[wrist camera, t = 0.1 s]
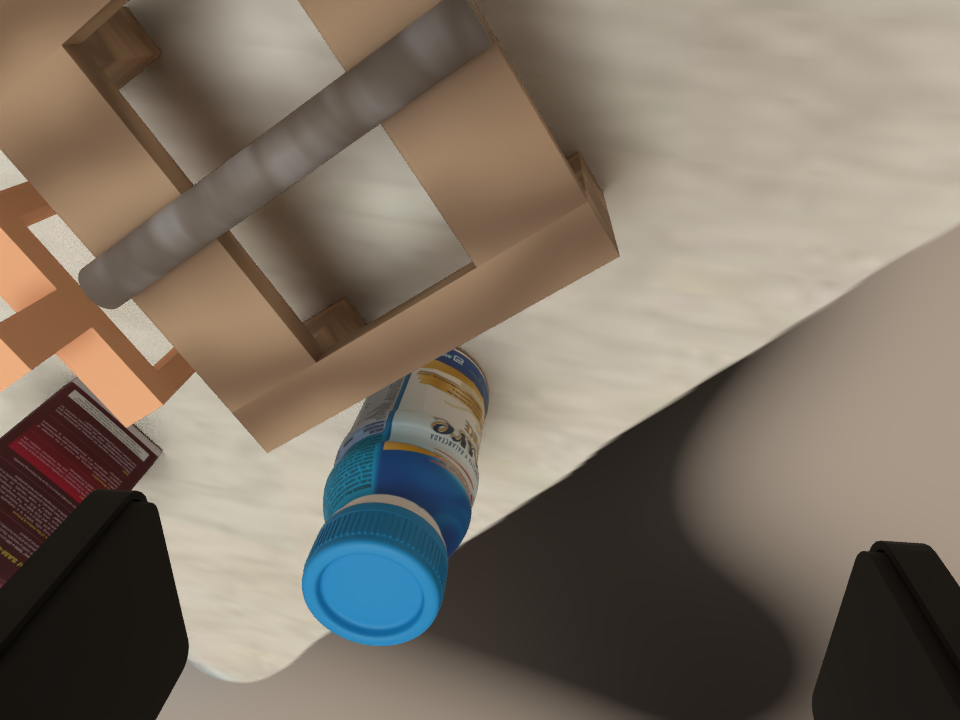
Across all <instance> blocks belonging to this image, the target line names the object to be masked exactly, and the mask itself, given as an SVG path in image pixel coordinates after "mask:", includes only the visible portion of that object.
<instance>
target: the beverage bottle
mask: <svg viewBox="0 0 960 720" xmlns="http://www.w3.org/2000/svg"><path fill="white" fill-rule="evenodd" d="M488 402H489V394H488V387H487V384H486V381H485V378H484V376H483V374H482V372H481V371H480V369H479V368H478V366H477V365H476V364H475V363H474V362H473V361H472V360H471V359H470V358H469V357H468V356H466V355H465V354H464V353H462V352H460V351H459V350H457V349H455V348H454V349H453V350H451V351H449V352H447V353H445V354H444V355H442V356H440V357H438V358H436V359H435V360H433V361H431V362H429V363H428V364H426V365H424V366H422V367H420V368H419V369H417V370H415V371H413V372H411V373H410V374H408V375H406V376H404V377H402V378H401V379H399V380H397V381H395V382H393V383H392V384H390V385H388V386H386V387H385V388H383V389H381V390H379V391H377V392H376V393H374V394H372V395H370V396H368V397H367V398H366V400H365V402H364V404H363V406H362V408H361V410H360V412H359V414H358V416H357V419H356V421H355V423H354V425H353V427H352V429H351V431H350V432H349V433H348V435H347V436H346V437H345V439H344V440H343V442H342V444H341V446H340V448H339V450H338V453H337V456H336V459H335V464H334V468H333V469H332V471H331V473H330V475H329V477H328V479H327V482H326V485H325V489H324V496H323V512H324V520H325V524H324V525H323V527H322V528H321V530H320V532H319V534H318V536H317V538H316V540H315V542H314V545H313V547H312V549H311V551H310V554H309V556H308V558H307V560H306V564H305V566H304V570H303V571H304V573H303V577H302V591H303V596H304V599H305V602H306V604H307V606H308V608H309V610H310V611H311V613H312V614H313V615H314V617H315V618H316V619H317V620H318V621H319V622H320V623H321V624H322V625H323V626H325V627H326V628H327V629H329V630H330V631H332V632H333V633H335V634H337V635H339V636H341V637H343V638H345V639H348V640H350V641H353V642H356V643H360V644H365V645H374V646H388V645H395V644H400V643H403V642H406V641H409V640H412V639H413V638H416V637H417V636H419V635H420V634H422V633H423V632H424V631H425V630H426V629H428V628H429V626H430V625H431V624H432V623H433V621H434V619H435V618H436V615H437V613H438V610H439V609H440V606H441V604H442V599H443V594H444V588H445V583H446V578H447V577H446V576H447V570H448V558H449V557H450V556H451V555H452V554H453V553H454V551H455V550H456V549H457V548H458V546H459V545H460V543H461V542H462V540H463V538H464V536H465V535H466V532H467V530H468V527H469V524H470V520H471V511H472V510H471V508H472V506H473V503H474V501H475V498H476V494H477V489H478V482H479V472H478V466H477V461H478V455H479V448H480V441H481V435H482V429H483V424H484V420H485V417H486V414H487V409H488Z"/></svg>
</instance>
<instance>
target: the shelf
mask: <svg viewBox="0 0 960 720" xmlns="http://www.w3.org/2000/svg"><path fill="white" fill-rule="evenodd" d="M128 1H129V0H0V149H1V150H2V152H3V153H4V154H5V155H6V156H7V157H8V158H9V160H10V161H11V162H12V163H13V164H14V165H15V166H16V168H17V169H18V170H19V171H20V172H21V173H22V174H23V176H24V177H25V178H26V179H27V180H28V181H29V182H30V183H31V185H32V186H33V187H34V188H35V189H36V190H37V191H38V193H39V194H40V195H41V196H42V197H43V198H44V199H45V201H46V202H47V203H48V204H49V205H50V206H51V207H52V209H53V210H54V211H55V212H56V213H57V214H58V215H59V216H60V218H61V219H62V220H63V221H64V222H65V223H66V224H67V226H68V227H69V228H70V229H71V230H72V231H73V232H74V234H75V235H76V236H77V237H78V238H79V239H80V240H81V242H82V243H83V244H84V245H85V246H86V247H87V248H88V250H89V251H90V252H91V253H92V254H93V255H94V256H95V257H96V259H94V260H93V261H92V262H90V263H89V264H88V265H86V266H85V267H84V268H82V269H81V270H80V272H79V276H78V279H79V284H80V286H81V288H82V290H83V292H84V293H85V295H86V296H87V297H88V298H89V299H90V300H91V301H92V302H94V303H95V304H97V305H98V306H100V307H103V308H106V309H116V308H118V307H120V306H121V305H123V304H124V303H125V302H127V301H128V300H130V299H131V298H132V300H133V301H134V302H135V303H136V304H137V305H138V306H139V308H140V309H141V310H142V311H143V312H144V313H145V314H146V316H147V317H148V318H149V319H150V320H151V321H152V322H153V323H154V325H155V326H156V327H157V328H158V329H159V330H160V331H161V333H162V334H163V335H164V336H165V337H166V338H167V339H168V341H169V342H170V343H171V344H172V345H173V346H174V347H175V349H176V350H177V351H178V352H179V353H180V354H181V355H182V357H183V358H184V359H185V360H186V361H187V362H188V363H189V364H190V366H191V367H192V368H193V369H194V370H195V371H196V372H197V374H198V375H199V376H200V377H201V378H202V379H203V380H204V382H205V383H206V384H207V385H208V386H209V387H210V388H211V390H212V391H213V392H214V393H215V394H216V395H217V396H218V397H219V399H220V400H221V401H222V402H223V403H224V404H225V405H226V407H227V408H228V409H229V410H230V411H231V412H232V413H233V415H234V416H235V417H236V418H237V419H238V420H239V421H240V423H241V424H242V425H243V426H244V427H245V428H246V429H247V430H248V432H249V433H250V434H251V435H252V436H253V437H254V438H255V440H256V441H257V442H258V443H259V444H260V445H261V446H262V448H263V449H264V450H265V451H266V452H267V453H268V452H270V451H272V450H273V449H275V448H277V447H279V446H281V445H282V444H284V443H286V442H288V441H290V440H291V439H293V438H295V437H297V436H299V435H300V434H302V433H304V432H306V431H307V430H309V429H311V428H313V427H315V426H316V425H318V424H320V423H322V422H324V421H325V420H327V419H329V418H331V417H333V416H334V415H336V414H338V413H340V412H342V411H343V410H345V409H347V408H349V407H350V406H352V405H354V404H356V403H358V402H359V401H361V400H363V399H365V398H367V397H368V396H370V395H372V394H374V393H376V392H377V391H379V390H381V389H383V388H385V387H386V386H388V385H390V384H392V383H393V382H395V381H397V380H399V379H401V378H402V377H404V376H406V375H408V374H410V373H411V372H413V371H415V370H417V369H419V368H420V367H422V366H424V365H426V364H428V363H429V362H431V361H433V360H435V359H436V358H438V357H440V356H442V355H444V354H445V353H447V352H449V351H451V350H453V349H454V348H456V347H458V346H460V345H462V344H463V343H465V342H467V341H469V340H471V339H472V338H474V337H476V336H478V335H479V334H481V333H483V332H485V331H487V330H488V329H490V328H492V327H494V326H496V325H497V324H499V323H501V322H503V321H505V320H506V319H508V318H510V317H512V316H514V315H515V314H517V313H519V312H521V311H523V310H524V309H526V308H528V307H530V306H531V305H533V304H535V303H537V302H539V301H540V300H542V299H544V298H546V297H548V296H549V295H551V294H553V293H555V292H557V291H558V290H560V289H562V288H564V287H566V286H567V285H569V284H571V283H573V282H574V281H576V280H578V279H580V278H582V277H583V276H585V275H587V274H589V273H591V272H592V271H594V270H596V269H598V268H600V267H601V266H603V265H605V264H607V263H609V262H610V261H612V260H614V259H616V258H617V257H619V256H620V255H619V251H618V248H617V244H616V240H615V236H614V232H613V229H612V225H611V221H610V217H609V214H608V210H607V206H606V202H605V199H604V195H603V193H602V191H601V189H600V187H599V186H598V184H597V182H596V181H595V179H594V177H593V175H592V174H591V172H590V170H589V168H588V167H587V165H586V163H585V161H584V160H583V158H582V156H581V154H580V153H579V152H578V153H576V154H574V155H573V156H571V157H570V158H568V159H566V158H565V156H564V154H563V153H562V151H561V149H560V147H559V146H558V144H557V142H556V141H555V139H554V137H553V135H552V134H551V132H550V130H549V129H548V127H547V125H546V123H545V122H544V120H543V118H542V117H541V115H540V113H539V111H538V110H537V108H536V106H535V105H534V103H533V101H532V99H531V98H530V96H529V94H528V93H527V91H526V89H525V87H524V86H523V84H522V82H521V81H520V79H519V77H518V75H517V74H516V72H515V70H514V69H513V67H512V65H511V63H510V62H509V60H508V58H507V57H506V55H505V53H504V51H503V50H502V48H501V46H500V45H499V43H498V41H497V39H496V38H495V36H494V34H493V33H492V31H491V29H490V27H489V26H488V24H487V22H486V21H485V19H484V17H483V15H482V14H481V12H480V10H479V9H478V7H477V5H476V3H475V2H474V0H298V1H299V3H300V4H301V6H302V7H303V9H304V10H305V12H306V13H307V14H308V16H309V17H310V19H311V20H312V22H313V23H314V25H315V26H316V28H317V29H318V31H319V32H320V34H321V35H322V37H323V38H324V40H325V41H326V43H327V44H328V46H329V47H330V49H331V50H332V52H333V53H334V55H335V56H336V58H337V59H338V61H339V62H340V64H341V65H342V67H343V68H344V70H345V71H346V73H344V74H343V75H342V76H340V77H339V78H338V79H336V80H335V81H334V82H332V83H331V84H330V85H328V86H327V87H326V88H324V89H323V90H322V91H320V92H319V93H318V94H316V95H315V96H314V97H312V98H311V99H310V100H308V101H307V102H305V103H304V104H303V105H301V106H300V107H299V108H297V109H296V110H295V111H293V112H292V113H291V114H289V115H288V116H287V117H285V118H284V119H283V120H281V121H280V122H279V123H277V124H276V125H275V126H273V127H272V128H271V129H269V130H268V131H266V132H265V133H264V134H262V135H261V136H260V137H258V138H257V139H256V140H254V141H253V142H252V143H250V144H249V145H248V146H246V147H245V148H244V149H242V150H241V151H240V152H238V153H237V154H236V155H234V156H233V157H232V158H230V159H229V160H227V161H226V162H225V163H223V164H222V165H221V166H219V167H218V168H217V169H215V170H214V171H213V172H211V173H210V174H209V175H207V176H206V177H205V178H203V179H202V180H201V181H199V182H198V183H197V184H195V185H193V184H192V183H191V181H190V180H189V179H188V178H187V176H186V175H185V174H184V172H183V171H182V170H181V169H180V167H179V166H178V165H177V164H176V162H175V161H174V160H173V159H172V157H171V156H170V155H169V154H168V152H167V151H166V150H165V148H164V147H163V146H162V145H161V143H160V142H159V141H158V140H157V138H156V137H155V136H154V135H153V133H152V132H151V131H150V130H149V128H148V127H147V126H146V124H145V123H144V122H143V121H142V119H141V118H140V117H139V116H138V114H137V113H136V112H135V111H134V109H133V108H132V107H131V106H130V104H129V103H128V102H127V100H126V99H125V98H124V97H123V95H122V94H121V93H120V92H119V89H120V88H121V87H123V86H124V85H125V84H126V83H127V82H129V81H130V80H131V79H132V78H133V77H135V76H136V75H137V74H138V73H139V72H140V71H142V70H143V69H144V68H145V67H146V66H148V65H149V64H150V63H151V62H152V61H154V60H155V59H156V58H157V57H158V56H160V55H161V52H160V51H159V50H158V48H157V47H156V46H155V44H154V43H153V42H152V40H151V39H150V38H149V36H148V35H147V34H146V32H145V31H144V30H143V28H142V27H141V26H140V24H139V23H138V22H137V20H136V19H135V18H134V16H133V15H132V14H131V12H130V11H129V10H128V9H127V7H123V6H124V5H125V4H126V3H127V2H128ZM379 124H381V125H382V127H383V128H384V130H385V131H386V133H387V134H388V136H389V137H390V139H391V140H392V142H393V143H394V145H395V146H396V148H397V149H398V151H399V152H400V153H401V155H402V156H403V158H404V159H405V161H406V162H407V164H408V165H409V167H410V168H411V170H412V171H413V173H414V174H415V176H416V177H417V179H418V180H419V182H420V183H421V185H422V186H423V188H424V189H425V191H426V192H427V194H428V195H429V197H430V198H431V200H432V201H433V203H434V204H435V206H436V207H437V209H438V210H439V212H440V213H441V215H442V216H443V218H444V219H445V221H446V222H447V224H448V225H449V227H450V228H451V230H452V231H453V233H454V234H455V236H456V237H457V239H458V240H459V242H460V243H461V245H462V246H463V248H464V249H465V251H466V252H467V254H468V255H469V257H470V258H471V260H472V261H473V262H471V263H470V264H468V265H466V266H465V267H463V268H461V269H460V270H458V271H456V272H455V273H453V274H451V275H450V276H448V277H446V278H444V279H443V280H441V281H439V282H438V283H436V284H434V285H433V286H431V287H429V288H428V289H426V290H424V291H423V292H421V293H419V294H418V295H416V296H414V297H413V298H411V299H409V300H408V301H406V302H404V303H403V304H401V305H399V306H398V307H396V308H394V309H393V310H391V311H389V312H388V313H386V314H384V315H383V316H381V317H379V318H378V319H376V320H374V321H373V322H371V323H369V324H368V325H366V324H365V322H364V321H363V320H362V318H361V317H360V316H359V314H358V313H357V312H356V310H355V309H354V308H353V306H352V305H351V304H350V302H349V301H348V300H347V298H346V297H344V298H342V299H341V300H339V301H337V302H336V303H334V304H333V305H331V306H329V307H328V308H326V309H325V310H323V311H321V312H320V313H318V314H317V315H315V316H313V317H312V318H310V319H308V320H307V321H305V322H304V323H302V322H301V320H300V319H299V318H298V316H297V315H296V314H295V313H294V311H293V310H292V309H291V308H290V306H289V305H288V304H287V303H286V301H285V300H284V299H283V298H282V296H281V295H280V294H279V292H278V291H277V290H276V289H275V287H274V286H273V285H272V284H271V282H270V281H269V280H268V279H267V277H266V276H265V275H264V274H263V272H262V271H261V270H260V268H259V267H258V266H257V265H256V263H255V262H254V261H253V260H252V258H251V257H250V256H249V255H248V253H247V252H246V251H245V250H244V248H243V247H242V246H241V244H240V243H239V242H238V241H237V239H236V238H235V237H234V236H233V234H232V233H231V232H230V231H229V229H231V228H232V227H234V226H235V225H236V224H238V223H239V222H241V221H242V220H244V219H245V218H246V217H248V216H249V215H251V214H252V213H253V212H255V211H256V210H258V209H259V208H261V207H262V206H263V205H265V204H266V203H268V202H269V201H271V200H272V199H273V198H275V197H276V196H278V195H279V194H281V193H282V192H283V191H285V190H286V189H288V188H289V187H291V186H292V185H293V184H295V183H296V182H298V181H299V180H300V179H302V178H303V177H305V176H306V175H308V174H309V173H310V172H312V171H313V170H315V169H316V168H318V167H319V166H320V165H322V164H323V163H325V162H326V161H328V160H329V159H330V158H332V157H333V156H335V155H336V154H338V153H339V152H340V151H342V150H343V149H345V148H346V147H347V146H349V145H350V144H352V143H353V142H355V141H356V140H357V139H359V138H360V137H362V136H363V135H365V134H366V133H367V132H369V131H370V130H372V129H373V128H375V127H376V126H377V125H379Z"/></svg>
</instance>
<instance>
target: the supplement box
mask: <svg viewBox="0 0 960 720" xmlns="http://www.w3.org/2000/svg"><path fill="white" fill-rule="evenodd" d="M161 453H162V451H161V450H160V449H159V448H158V447H157V446H156V445H154V444H153V443H152V442H151V441H150V440H149V439H148V438H146V437H145V436H144V435H143V434H142V433H141V432H140V431H139V430H137V429H136V428H135V427H134V426H133V425H130V426H129V427H127V428H126V427H125V426H124V425H123V424H122V423H121V422H120V421H119V420H118V419H117V418H116V417H115V416H114V415H113V414H112V413H111V412H110V410H109V409H108V408H107V407H106V406H105V405H104V404H103V403H102V402H101V401H100V400H99V399H98V398H97V397H96V396H95V395H94V394H93V393H92V392H91V390H90V389H89V388H88V387H87V386H86V385H85V384H84V383H83V382H82V381H81V380H80V379H79V378H78V377H76V378H74V379H73V380H72V381H70V382H69V383H68V384H66V385H65V386H63V387H62V388H61V389H60V390H59V391H57V392H56V393H55V394H54V395H53V396H51V397H50V398H49V399H47V400H46V401H45V402H44V403H43V404H41V405H40V406H39V407H38V408H37V409H35V410H34V411H33V412H31V413H30V414H29V415H28V416H27V417H25V418H24V419H23V420H22V421H21V422H19V423H18V424H17V425H16V426H14V427H13V428H12V429H11V430H9V431H8V432H7V433H6V434H5V435H3V436H2V437H1V438H0V588H1V587H2V586H3V585H4V584H5V583H6V582H7V581H8V580H9V579H10V578H11V576H12V575H13V574H14V573H15V572H16V571H17V570H18V569H19V568H20V567H21V566H22V565H23V564H24V563H25V562H26V561H27V559H28V558H29V557H30V556H31V555H32V554H33V553H34V552H35V551H36V550H37V549H38V548H39V547H40V546H41V545H42V543H43V542H44V541H45V540H46V539H47V538H48V537H49V536H50V535H51V534H52V533H53V532H54V531H55V530H56V529H57V527H58V526H59V525H60V524H61V523H62V522H63V521H64V520H65V519H66V518H67V517H68V516H69V515H70V514H71V513H72V512H73V510H74V509H75V508H76V507H77V506H78V505H79V504H80V503H81V502H82V501H83V500H84V499H85V498H86V497H87V496H88V495H89V494H90V493H91V492H92V491H94V490H96V489H100V488H102V489H117V490H132V489H133V487H134V486H135V485H136V484H137V483H138V481H139V480H140V479H141V478H142V477H143V475H144V474H145V473H146V472H147V471H148V470H149V468H150V467H151V466H152V465H153V463H154V462H155V461H156V459H157V458H158V457H159V456H160V455H161Z"/></svg>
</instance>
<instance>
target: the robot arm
mask: <svg viewBox="0 0 960 720" xmlns="http://www.w3.org/2000/svg"><path fill="white" fill-rule="evenodd" d="M188 650H189V643H188V637H187V633H186V629H185V624H184V620H183V616H182V611H181V607H180V603H179V598H178V594H177V590H176V585H175V581H174V577H173V573H172V568H171V564H170V560H169V555H168V551H167V547H166V542H165V538H164V534H163V529H162V525H161V521H160V516H159V512H158V509H157V507H156V505H155V504H154V503H150V502H148V501H147V499H146V496H145V495H144V494H143V493H142V492H139V491H132V490H117V489H102V488H100V489H96V490H94V491H92V492H91V493H90V494H89V495H88V496H87V497H86V498H85V499H84V500H83V501H82V502H81V503H80V504H79V505H78V506H77V507H76V508H75V509H74V510H73V512H72V513H71V514H70V515H69V516H68V517H67V518H66V519H65V520H64V521H63V522H62V523H61V524H60V525H59V526H58V527H57V529H56V530H55V531H54V532H53V533H52V534H51V535H50V536H49V537H48V538H47V539H46V540H45V541H44V542H43V543H42V545H41V546H40V547H39V548H38V549H37V550H36V551H35V552H34V553H33V554H32V555H31V556H30V557H29V558H28V559H27V561H26V562H25V563H24V564H23V565H22V566H21V567H20V568H19V569H18V570H17V571H16V572H15V573H14V574H13V575H12V576H11V578H10V579H9V580H8V581H7V582H6V583H5V584H4V585H3V586H2V587H1V588H0V720H156V718H157V716H158V715H159V713H160V711H161V709H162V707H163V705H164V703H165V702H166V700H167V698H168V697H169V695H170V693H171V691H172V689H173V687H174V686H175V684H176V682H177V680H178V678H179V677H180V675H181V673H182V671H183V669H184V667H185V664H186V661H187V657H188ZM812 711H813V717H814V720H960V587H959V585H958V584H957V582H956V581H955V579H954V578H953V576H952V575H951V574H950V572H949V571H948V569H947V568H946V566H945V565H944V564H943V562H942V561H941V559H940V558H939V556H938V555H937V554H936V552H935V551H934V550H933V549H932V548H931V547H930V546H928V545H926V544H922V543H907V542H892V541H877V542H875V543H874V544H873V545H872V547H871V549H870V551H868V552H867V551H862V552H860V553H859V554H858V555H857V557H856V559H855V562H854V566H853V569H852V572H851V575H850V578H849V581H848V585H847V588H846V591H845V594H844V597H843V600H842V604H841V607H840V610H839V613H838V616H837V619H836V622H835V625H834V629H833V632H832V635H831V638H830V641H829V645H828V648H827V651H826V654H825V657H824V660H823V664H822V667H821V670H820V673H819V676H818V679H817V682H816V686H815V689H814V692H813V697H812Z"/></svg>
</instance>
